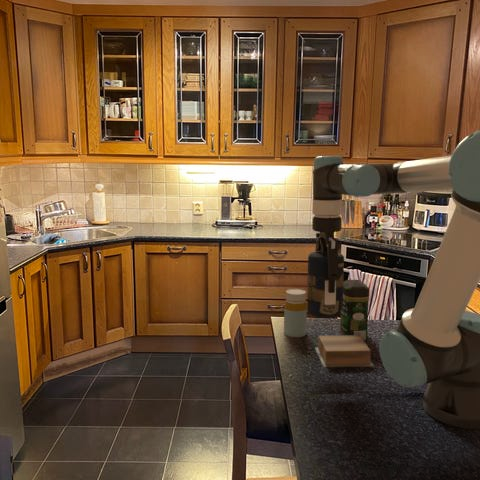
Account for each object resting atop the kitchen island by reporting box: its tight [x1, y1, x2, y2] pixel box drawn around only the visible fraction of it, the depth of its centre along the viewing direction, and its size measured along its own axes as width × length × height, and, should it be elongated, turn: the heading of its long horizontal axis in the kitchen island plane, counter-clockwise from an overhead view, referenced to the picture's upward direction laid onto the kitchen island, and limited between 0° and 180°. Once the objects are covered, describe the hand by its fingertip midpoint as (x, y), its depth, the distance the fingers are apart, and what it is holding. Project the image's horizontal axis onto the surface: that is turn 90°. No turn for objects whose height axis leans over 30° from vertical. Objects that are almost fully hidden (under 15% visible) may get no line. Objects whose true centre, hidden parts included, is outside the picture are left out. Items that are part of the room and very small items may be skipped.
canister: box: [306, 250, 345, 319], centre depth 129 cm, size 10×10×18 cm
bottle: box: [283, 288, 308, 338], centre depth 152 cm, size 7×7×15 cm
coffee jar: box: [339, 279, 370, 341], centre depth 150 cm, size 10×8×19 cm
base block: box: [317, 334, 372, 365], centre depth 135 cm, size 11×12×4 cm
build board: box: [314, 346, 375, 368], centre depth 135 cm, size 18×15×1 cm
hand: (325, 298), depth 130 cm, fingers closed on canister, 9 cm apart
